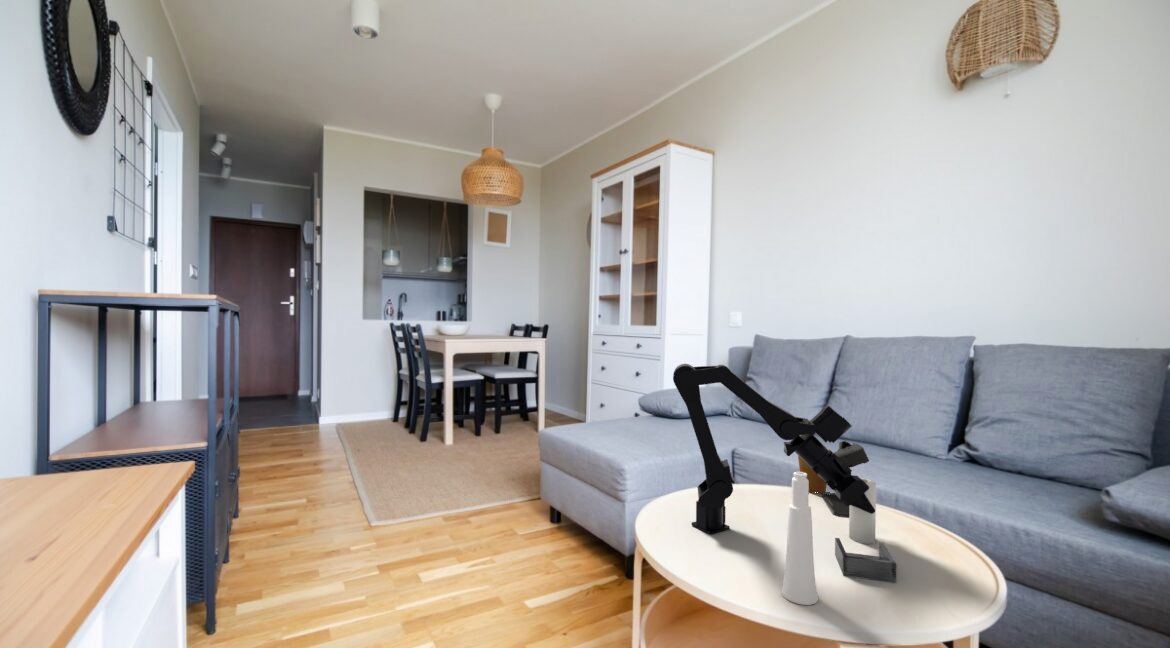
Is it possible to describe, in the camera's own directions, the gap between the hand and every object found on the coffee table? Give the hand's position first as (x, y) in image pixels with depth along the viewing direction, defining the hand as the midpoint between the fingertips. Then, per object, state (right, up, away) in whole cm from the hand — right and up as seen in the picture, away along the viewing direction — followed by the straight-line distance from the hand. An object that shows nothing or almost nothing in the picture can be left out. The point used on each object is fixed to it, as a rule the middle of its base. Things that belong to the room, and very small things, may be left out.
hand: (869, 507), depth 114 cm
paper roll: (-1, -7, 0) cm, 7 cm away
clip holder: (-8, -7, -13) cm, 17 cm away
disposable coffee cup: (+2, -7, +33) cm, 34 cm away
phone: (+4, -8, +20) cm, 22 cm away
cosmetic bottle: (-26, -7, -23) cm, 36 cm away
